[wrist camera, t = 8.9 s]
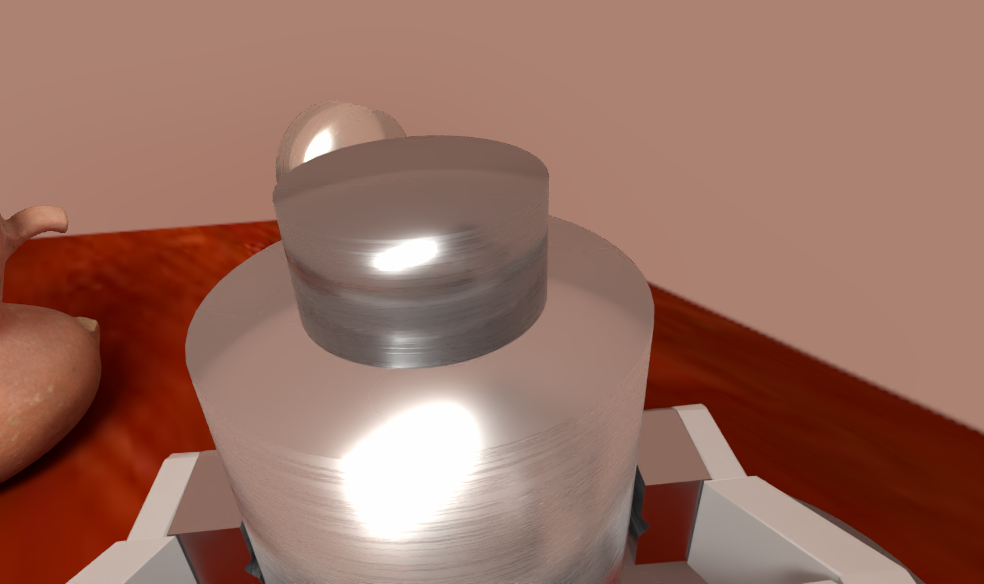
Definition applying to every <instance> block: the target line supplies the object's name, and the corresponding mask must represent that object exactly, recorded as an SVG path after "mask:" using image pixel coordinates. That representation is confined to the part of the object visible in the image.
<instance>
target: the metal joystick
mask: <svg viewBox="0 0 984 584" xmlns="http://www.w3.org/2000/svg"><path fill="white" fill-rule="evenodd" d="M399 137H407V136H406V134H405V132H404V130H403V129H402V127H401V126H400V125H399V123H397V121H396V120H395V119H393V118H392V117H391V116H390V115H388V114H386V113H384V112H382V111H379V110H375V109H371V108H367V107H363V106H358V105H354V104H350V103H346V102H341V101H325V102H321V103H318V104H315V105H313V106H311V107H309V108H307V109H306V110H304V111H303V112H302V113H300V114H299V115H298V116H297V117H296V119H295V120H294V121H293V122H292V123H291V125H290V126H289V127H288V129H287V131H286V132H285V134H284V136H283V139H282V141H281V144H280V147H279V150H278V155H277V161H276V178H277V183H278V182H279V180H280V179H281V178H282V177H283V176H285V175H286V174H287V173H288V172H289V171H291V170H292V169H294V168H295V167H297V166H299V165H300V164H302V163H304V162H306V161H308V160H310V159H313V158H315V157H317V156H320V155H322V154H325V153H328V152H331V151H334V150H337V149H340V148H344V147H348V146H352V145H356V144H361V143H366V142H371V141H377V140H383V139H391V138H399Z"/></svg>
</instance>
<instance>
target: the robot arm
mask: <svg viewBox="0 0 984 584" xmlns="http://www.w3.org/2000/svg"><path fill="white" fill-rule="evenodd" d="M627 543H628V546H629V549H630V552H631V555H632V558H633V561H634V564H635V565H642V564H654V563H666V562H678V561H688V562H687V564H688V565H689V566H690V567H691V568H692V569H693V570H695V571H696V572H697V573H698V574H699V575H700V576H701V577H702V578H703V579H704V580H705V581H706V582H707V583H708V584H916V582H915V581H914V580H913V578H912V577H911V576H910V574H909V573H908V572H907V570H906V569H904V568H903V567H901V566H899V565H898V564H896V563H895V562H893V561H892V560H890V559H888V558H887V557H885V556H884V555H882V554H880V553H879V552H877V551H876V550H874V549H872V548H871V547H869V546H868V545H866V544H864V543H863V542H861V541H860V540H858V539H856V538H855V537H853V536H852V535H850V534H848V533H847V532H845V531H844V530H842V529H840V528H839V527H837V526H836V525H834V524H832V523H831V522H829V521H828V520H826V519H824V518H823V517H821V516H820V515H818V514H817V513H815V512H813V511H812V510H810V509H809V508H807V507H805V506H804V505H802V504H801V503H799V502H797V501H796V500H794V499H793V498H791V497H789V496H788V495H786V494H785V493H783V492H781V491H780V490H778V489H777V488H775V487H773V486H772V485H770V484H769V483H767V482H765V481H764V480H762V479H761V478H759V477H757V476H749V477H747V475H746V473H745V472H744V470H743V468H742V467H741V465H740V463H739V462H738V460H737V458H736V456H735V455H734V453H733V451H732V450H731V448H730V446H729V445H728V443H727V441H726V440H725V438H724V436H723V435H722V433H721V431H720V429H719V428H718V426H717V424H716V423H715V421H714V419H713V418H712V416H711V414H710V413H709V411H708V409H707V408H706V407H705V406H704V405H702V404H694V405H685V406H676V407H672V408H659V409H649V410H643V416H642V424H641V432H640V441H639V449H638V457H637V465H636V474H635V482H634V490H633V498H632V506H631V515H630V523H629V531H628V539H627ZM66 584H266V583H265V580H264V578H263V575H262V572H261V569H260V567H259V564H258V561H257V558H256V556H255V553H254V550H253V547H252V545H251V542H250V539H249V536H248V534H247V531H246V528H245V525H244V523H243V520H242V517H241V514H240V511H239V509H238V506H237V503H236V500H235V498H234V495H233V492H232V489H231V487H230V484H229V481H228V478H227V476H226V473H225V470H224V467H223V465H222V462H221V459H220V456H219V454H218V451H217V450H210V451H204V452H192V453H176V454H171V455H170V456H169V457H168V458H167V459H166V460H165V461H164V462H163V464H162V466H161V468H160V471H159V473H158V475H157V477H156V479H155V481H154V483H153V485H152V488H151V490H150V492H149V494H148V496H147V498H146V500H145V502H144V505H143V507H142V509H141V511H140V513H139V515H138V517H137V519H136V522H135V524H134V526H133V528H132V530H131V532H130V534H129V537H128V539H127V541H120V542H116V543H114V544H113V545H112V546H111V547H110V548H108V549H107V550H106V551H105V552H104V553H102V554H101V555H100V556H99V557H97V558H96V559H95V560H94V561H93V562H91V563H90V564H89V565H88V566H87V567H85V568H84V569H83V570H82V571H81V572H79V573H78V574H77V575H76V576H74V577H73V578H72V579H71V580H70V581H68V582H67V583H66Z"/></svg>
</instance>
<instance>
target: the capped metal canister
mask: <svg viewBox="0 0 984 584" xmlns="http://www.w3.org/2000/svg"><path fill="white" fill-rule="evenodd" d="M548 198H549V173H548V170H547V168H546V166H545V165H544V163H543V162H542V161H541V160H540V159H538V158H537V157H536V156H534V155H533V154H531V153H529V152H527V151H525V150H523V149H521V148H518V147H515V146H512V145H510V144H506V143H502V142H498V141H493V140H488V139H481V138H474V137H462V136H411V137H399V138H391V139H383V140H377V141H371V142H366V143H361V144H356V145H352V146H348V147H344V148H340V149H337V150H334V151H331V152H328V153H325V154H322V155H320V156H317V157H315V158H313V159H310V160H308V161H306V162H304V163H302V164H300V165H299V166H297V167H295V168H294V169H292V170H291V171H289V172H288V173H287V174H286V175H285V176H283V177H282V178H281V179H280V180H279V182H278V183H277V185H276V186H275V189H274V191H273V203H274V207H275V212H276V215H277V220H278V225H279V229H280V233H281V238H282V240H281V241H279V242H277V243H275V244H273V245H271V246H269V247H267V248H265V249H264V250H262V251H260V252H258V253H257V254H255V255H253V256H252V257H250V258H249V259H247V260H246V261H244V262H243V263H242V264H240V265H239V266H237V267H236V268H235V269H233V270H232V271H231V272H230V273H229V274H228V275H226V276H225V277H224V278H223V279H222V280H221V281H219V283H218V284H217V285H216V286H215V287H214V288H213V289H212V290H211V291H210V292H209V293H208V295H207V296H206V297H205V299H204V300H203V302H202V303H201V305H200V306H199V308H198V309H197V310H196V312H195V315H194V317H193V319H192V321H191V324H190V326H189V329H188V334H187V339H186V344H185V350H186V364H187V367H188V370H189V373H190V376H191V379H192V382H193V385H194V387H195V390H196V393H197V396H198V398H199V401H200V404H201V407H202V409H203V412H204V415H205V418H206V420H207V423H208V426H209V429H210V432H211V434H212V437H213V440H214V443H215V445H216V448H217V451H218V454H219V456H220V459H221V462H222V465H223V467H224V470H225V473H226V476H227V478H228V481H229V484H230V487H231V489H232V492H233V495H234V498H235V500H236V503H237V506H238V509H239V511H240V514H241V517H242V520H243V523H244V525H245V528H246V531H247V534H248V536H249V539H250V542H251V545H252V547H253V550H254V553H255V556H256V558H257V561H258V564H259V567H260V569H261V572H262V575H263V578H264V580H265V583H266V584H622V580H623V572H624V564H625V556H626V547H627V539H628V531H629V523H630V515H631V506H632V498H633V490H634V482H635V474H636V465H637V457H638V449H639V441H640V432H641V424H642V416H643V408H644V400H645V391H646V383H647V375H648V367H649V359H650V350H651V342H652V334H653V326H654V303H653V299H652V294H651V290H650V288H649V286H648V284H647V282H646V280H645V278H644V276H643V274H642V273H641V271H640V270H639V269H638V268H637V266H636V265H635V264H634V262H633V261H632V260H631V259H630V258H629V257H628V256H626V255H625V254H624V253H623V252H622V251H621V250H620V249H619V248H617V247H616V246H614V245H613V244H611V243H610V242H609V241H607V240H606V239H604V238H602V237H600V236H599V235H597V234H595V233H593V232H591V231H590V230H587V229H585V228H583V227H580V226H578V225H575V224H573V223H571V222H568V221H565V220H562V219H559V218H556V217H552V216H549V215H548Z"/></svg>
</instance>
